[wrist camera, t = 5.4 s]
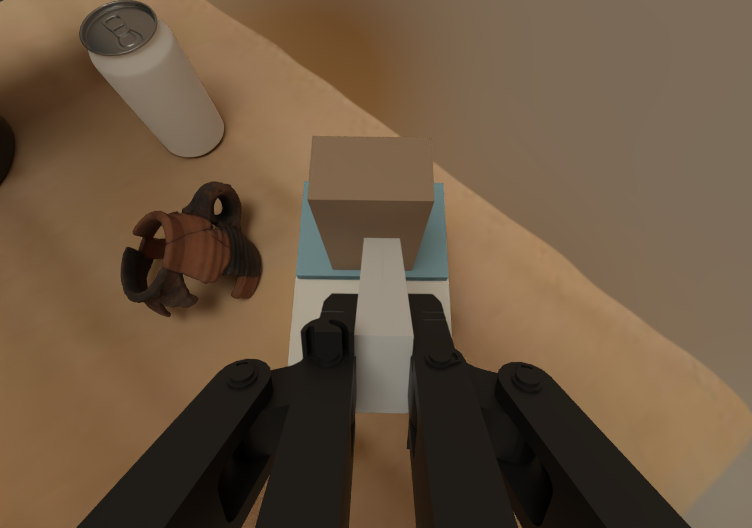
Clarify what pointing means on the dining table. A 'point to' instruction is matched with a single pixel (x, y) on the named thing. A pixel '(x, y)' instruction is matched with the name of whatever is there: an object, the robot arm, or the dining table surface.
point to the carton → (317, 290)
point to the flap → (371, 207)
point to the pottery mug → (191, 251)
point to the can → (152, 76)
